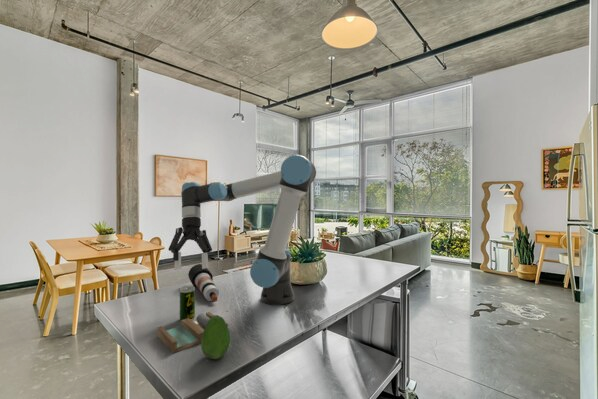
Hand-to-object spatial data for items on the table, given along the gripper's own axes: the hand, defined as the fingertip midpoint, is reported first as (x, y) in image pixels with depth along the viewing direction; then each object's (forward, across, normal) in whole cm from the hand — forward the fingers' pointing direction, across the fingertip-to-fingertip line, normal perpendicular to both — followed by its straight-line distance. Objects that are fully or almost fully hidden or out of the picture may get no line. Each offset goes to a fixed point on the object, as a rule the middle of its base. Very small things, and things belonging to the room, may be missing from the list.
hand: (192, 269), depth 112 cm
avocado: (+28, +16, +27) cm, 42 cm away
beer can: (+19, +3, 0) cm, 19 cm away
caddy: (+22, +10, +11) cm, 27 cm away
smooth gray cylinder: (+21, +6, +13) cm, 26 cm away
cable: (+11, -21, -15) cm, 28 cm away
